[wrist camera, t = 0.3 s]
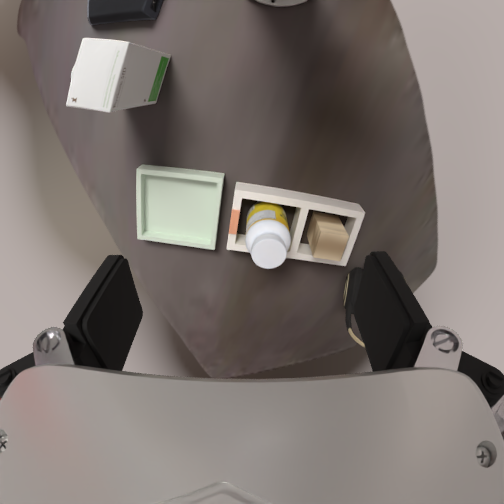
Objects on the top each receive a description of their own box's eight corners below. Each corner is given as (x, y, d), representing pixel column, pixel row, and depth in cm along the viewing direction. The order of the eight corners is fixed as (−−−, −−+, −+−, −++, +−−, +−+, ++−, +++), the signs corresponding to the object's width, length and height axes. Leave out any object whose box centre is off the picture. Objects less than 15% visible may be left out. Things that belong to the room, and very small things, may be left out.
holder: (236, 181, 46) (234, 190, 42) (358, 203, 47) (366, 213, 44) (228, 238, 51) (226, 250, 48) (340, 255, 53) (346, 267, 49)
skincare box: (156, 104, 39) (111, 117, 25) (119, 96, 37) (63, 109, 24) (172, 53, 34) (131, 41, 21) (133, 46, 33) (79, 37, 20)
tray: (142, 164, 44) (136, 168, 42) (224, 173, 45) (223, 178, 43) (142, 231, 50) (137, 238, 48) (216, 242, 52) (214, 249, 49)
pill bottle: (280, 236, 51) (285, 278, 41) (243, 229, 50) (239, 270, 40) (290, 203, 47) (299, 238, 38) (251, 194, 47) (250, 228, 37)
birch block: (313, 211, 48) (321, 231, 42) (338, 216, 48) (349, 236, 43) (306, 234, 51) (313, 257, 45) (330, 238, 51) (340, 261, 45)
